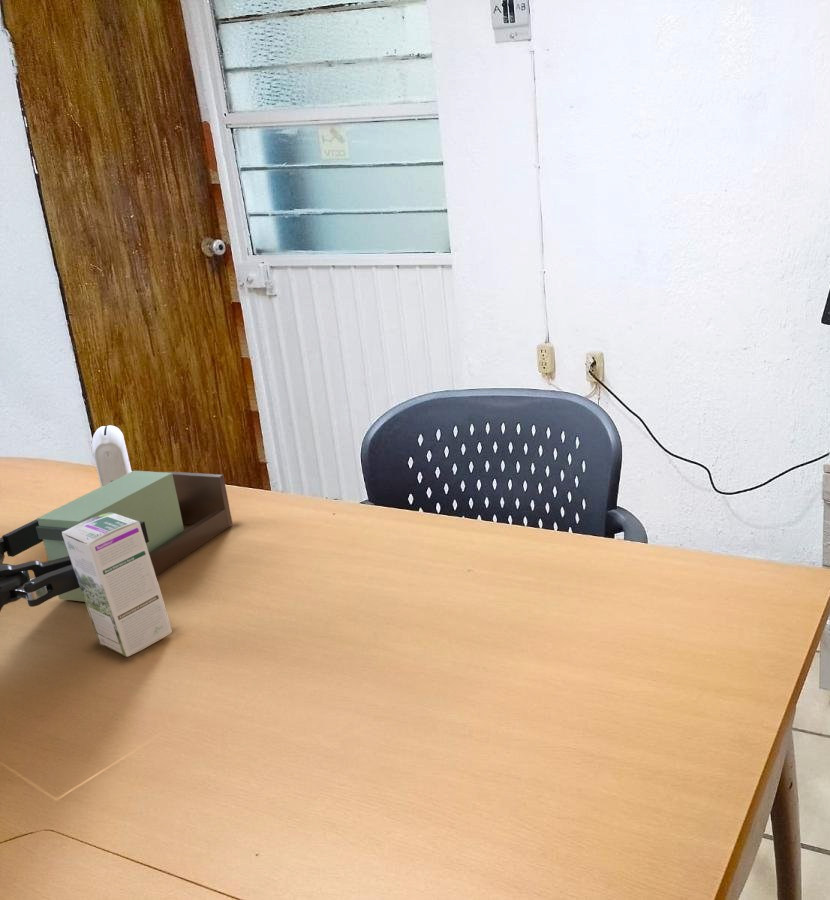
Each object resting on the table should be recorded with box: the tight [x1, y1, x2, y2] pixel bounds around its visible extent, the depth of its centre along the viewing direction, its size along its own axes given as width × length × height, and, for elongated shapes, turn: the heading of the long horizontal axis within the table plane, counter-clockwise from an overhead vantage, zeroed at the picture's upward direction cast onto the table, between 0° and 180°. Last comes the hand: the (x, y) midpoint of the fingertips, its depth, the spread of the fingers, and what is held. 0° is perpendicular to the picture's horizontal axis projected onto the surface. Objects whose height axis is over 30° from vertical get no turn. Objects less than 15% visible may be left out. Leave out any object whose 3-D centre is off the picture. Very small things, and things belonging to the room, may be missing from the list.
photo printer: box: [91, 424, 133, 487], centre depth 130 cm, size 10×4×12 cm, turn 28°
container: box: [36, 470, 185, 603], centre depth 107 cm, size 6×16×11 cm, turn 168°
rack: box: [149, 471, 234, 577], centre depth 115 cm, size 9×17×8 cm, turn 168°
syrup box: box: [62, 512, 173, 658], centre depth 91 cm, size 6×6×14 cm
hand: (97, 527), depth 104 cm, fingers open, 13 cm apart
